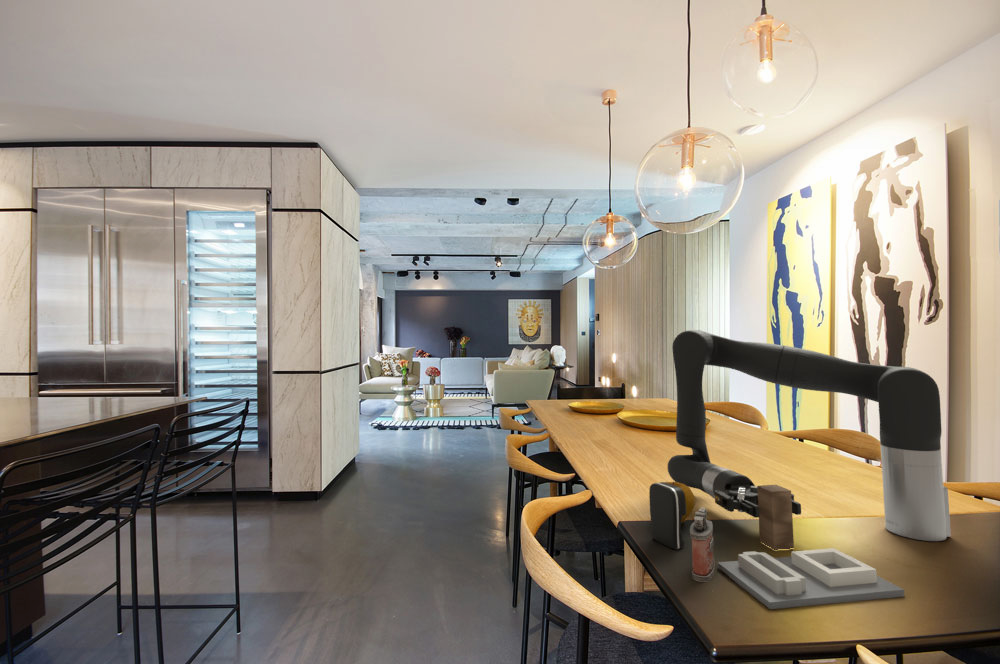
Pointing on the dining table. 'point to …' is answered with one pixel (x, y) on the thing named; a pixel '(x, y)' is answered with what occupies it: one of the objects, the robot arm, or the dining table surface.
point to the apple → (688, 497)
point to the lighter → (702, 547)
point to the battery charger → (667, 513)
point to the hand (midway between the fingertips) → (778, 510)
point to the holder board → (807, 578)
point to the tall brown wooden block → (775, 517)
